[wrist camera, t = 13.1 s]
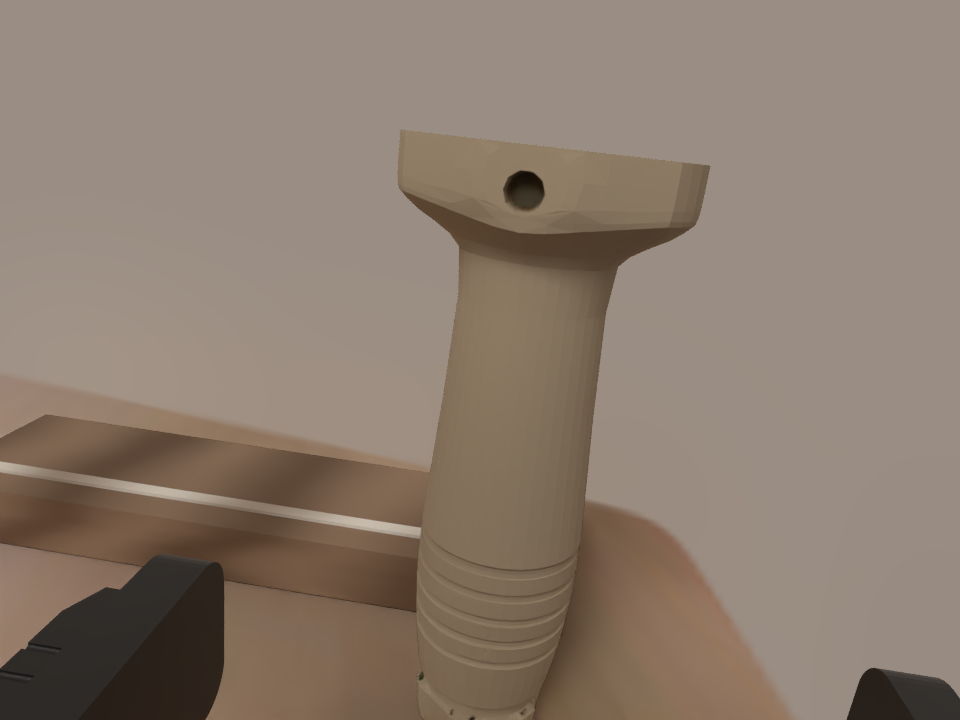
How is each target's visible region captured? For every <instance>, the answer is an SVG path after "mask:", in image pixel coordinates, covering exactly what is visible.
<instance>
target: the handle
mask: <svg viewBox="0 0 960 720" xmlns="http://www.w3.org/2000/svg"><path fill="white" fill-rule="evenodd" d="M709 170H710V166H708V165H700V164H692V163H683V162H674V161H666V160H658V159H649V158H640V157H631V156H623V155H615V154H606V153H597V152H589V151H580V150H571V149H563V148H555V147H546V146H537V145H528V144H520V143H511V142H503V141H494V140H486V139H477V138H468V137H460V136H451V135H442V134H433V133H425V132H415V131H407V130H400V144H399V159H398V186H399V189H400V190H401V191H402V192H403V193H404V195H405V196H406V197H407V198H408V199H409V200H410V201H411V202H412V203H413V204H414V205H415V206H416V207H417V208H418V209H420V210H421V211H422V212H424V213H425V214H427V215H428V216H429V217H431V218H432V219H433V220H435V221H436V222H437V223H438V224H440V225H441V226H442V227H443V228H444V229H445V230H447V231H448V232H449V233H450V234H451V235H452V237H453V238H454V240H455V241H456V242H457V244H458V245H459V293H458V300H457V307H456V314H455V320H454V327H453V333H452V340H451V347H450V353H449V360H448V367H447V374H446V380H445V387H444V393H443V400H442V406H441V411H440V418H439V423H438V429H437V435H436V441H435V447H434V452H433V458H432V464H431V469H430V475H429V481H428V487H427V493H426V499H425V504H424V510H423V516H422V519H423V521H422V526H421V534H420V547H419V554H418V570H417V601H416V607H417V613H416V615H417V637H418V649H419V659H420V664H421V668H422V670H423V671H422V672H421V673H418V674H417V699H418V706H419V712H420V716H421V717H422V718H423V720H533V716H534V713H535V708H534V707H535V704H536V702H537V699H538V696H539V693H540V690H541V686H542V685H543V683H544V681H545V678H546V676H547V673H548V671H549V668H550V666H551V663H552V661H553V658H554V655H555V652H556V649H557V646H558V643H559V640H560V635H561V633H562V630H563V626H564V622H565V618H566V613H567V611H568V607H569V603H570V599H571V592H572V589H573V584H574V579H575V572H576V567H577V561H578V555H579V547H580V543H581V533H582V523H583V513H584V503H585V492H586V483H587V473H588V463H589V452H590V443H591V433H592V423H593V414H594V405H595V398H596V390H597V381H598V373H599V364H600V357H601V349H602V341H603V332H604V325H605V316H606V310H607V307H608V303H609V299H610V295H611V291H612V288H613V283H614V280H615V276H616V272H617V269H618V266H620V265H621V264H622V263H623V262H625V261H626V260H627V259H628V258H630V257H631V256H634V255H636V254H638V253H640V252H643V251H645V250H647V249H650V248H652V247H655V246H658V245H660V244H663V243H666V242H668V241H671V240H673V239H674V238H676V237H678V236H680V235H682V234H684V233H685V232H686V231H688V230H689V229H691V228H692V227H693V226H695V225H696V222H697V220H698V218H699V215H700V211H701V208H702V203H703V198H704V194H705V189H706V184H707V179H708V175H709Z"/></svg>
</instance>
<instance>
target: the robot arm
mask: <svg viewBox="0 0 960 720" xmlns="http://www.w3.org/2000/svg"><path fill="white" fill-rule="evenodd" d="M223 667H224V573H223V569H222V566H221V565H220V564H219V563H218V562H213V561H206V560H200V559H194V558H187V557H181V556H175V555H168V554H158V555H156V556H154V557H153V558H152V559H151V560H149V561H148V562H147V563H146V564H145V565H144V566H143V567H142V568H141V569H140V570H139V572H138V573H137V574H136V575H135V576H134V577H133V578H132V579H131V580H130V581H129V582H128V583H127V584H126V585H125V586H124V587H123V588H122V589H121V590H119V589H113V588H107V587H106V588H104V589H102V590H100V591H99V592H97V593H95V594H93V595H91V596H89V597H87V598H85V599H84V600H82V601H80V602H78V603H76V604H74V605H72V606H71V607H69V608H67V609H65V610H63V611H62V612H61V613H59V614H58V615H57V616H56V617H55V618H54V619H53V620H52V621H51V622H50V623H49V624H48V625H47V626H45V627H44V628H43V629H42V630H41V631H40V632H39V633H38V634H37V635H36V636H35V637H34V638H33V639H31V640H30V641H29V642H28V646H27V648H26V649H21V650H20V651H19V652H18V653H16V654H15V655H14V656H13V657H12V658H11V659H10V660H9V661H8V662H7V663H6V664H5V665H4V666H2V667H1V668H0V720H205V719H206V717H207V716H208V714H209V712H210V710H211V708H212V706H213V703H214V701H215V699H216V696H217V693H218V690H219V686H220V683H221V678H222V673H223ZM847 720H960V699H959V697H958V696H957V694H956V693H955V692H954V690H953V689H952V688H951V687H950V686H949V684H947V683H946V682H945V681H943V680H941V679H939V678H934V677H928V676H921V675H915V674H908V673H903V672H895V671H890V670H884V669H877V668H871V669H868V670H867V671H866V672H865V673H864V674H863V675H862V677H861V679H860V681H859V684H858V687H857V690H856V693H855V696H854V699H853V702H852V705H851V708H850V711H849V714H848V717H847Z"/></svg>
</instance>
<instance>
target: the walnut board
mask: <svg viewBox="0 0 960 720" xmlns="http://www.w3.org/2000/svg"><path fill="white" fill-rule="evenodd" d="M429 475H430V473H428V472H421V471H415V470H408V469H401V468H395V467H388V466H382V465H375V464H368V463H362V462H355V461H349V460H342V459H336V458H329V457H322V456H316V455H309V454H303V453H296V452H290V451H283V450H276V449H270V448H263V447H257V446H250V445H243V444H237V443H230V442H224V441H217V440H211V439H204V438H197V437H191V436H184V435H178V434H171V433H164V432H158V431H151V430H145V429H138V428H132V427H125V426H118V425H112V424H105V423H99V422H92V421H85V420H79V419H72V418H66V417H59V416H53V415H44V416H42V417H40V418H38V419H36V420H35V421H33V422H31V423H29V424H27V425H25V426H23V427H21V428H19V429H17V430H15V431H13V432H11V433H10V434H8V435H6V436H4V437H2V438H0V543H6V544H12V545H18V546H24V547H30V548H37V549H43V550H49V551H55V552H61V553H67V554H73V555H79V556H85V557H91V558H97V559H103V560H109V561H115V562H121V563H127V564H133V565H139V566H144V565H145V564H146V563H147V562H148V561H149V560H151V559H152V558H153V557H154V556H156V555H158V554H168V555H175V556H181V557H187V558H194V559H200V560H206V561H213V562H218V563H219V564H220V565H221V566H222V569H223V573H224V580H229V581H235V582H241V583H247V584H253V585H259V586H265V587H271V588H277V589H283V590H289V591H295V592H301V593H307V594H313V595H319V596H325V597H331V598H337V599H343V600H349V601H355V602H361V603H367V604H373V605H380V606H386V607H392V608H398V609H404V610H410V611H416V612H417V607H416V601H417V570H418V554H419V547H420V534H421V526H422V521H423V519H422V516H423V510H424V504H425V499H426V493H427V487H428V481H429ZM562 632H563V630H562ZM560 636H562V633H561V635H560Z"/></svg>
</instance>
